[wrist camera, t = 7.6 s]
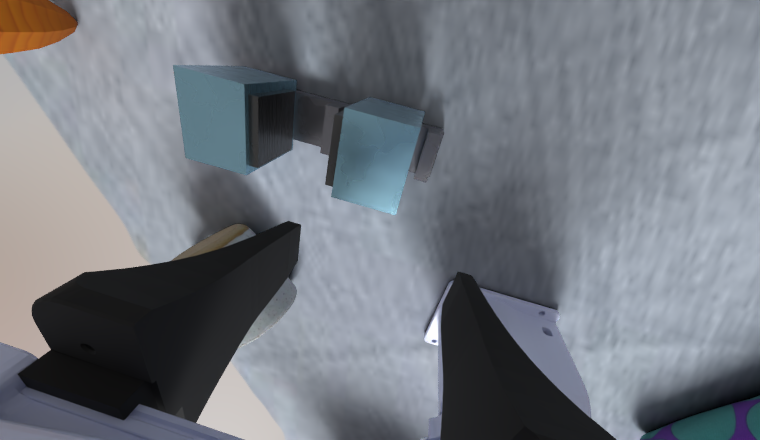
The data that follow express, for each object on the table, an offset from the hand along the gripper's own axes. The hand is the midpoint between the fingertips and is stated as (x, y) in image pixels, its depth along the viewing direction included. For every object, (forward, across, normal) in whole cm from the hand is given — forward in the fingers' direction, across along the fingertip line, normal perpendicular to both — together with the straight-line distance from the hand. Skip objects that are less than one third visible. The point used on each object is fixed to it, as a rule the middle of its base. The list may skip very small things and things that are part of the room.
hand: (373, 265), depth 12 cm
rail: (+10, +5, -3) cm, 11 cm away
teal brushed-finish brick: (+8, +2, -3) cm, 9 cm away
